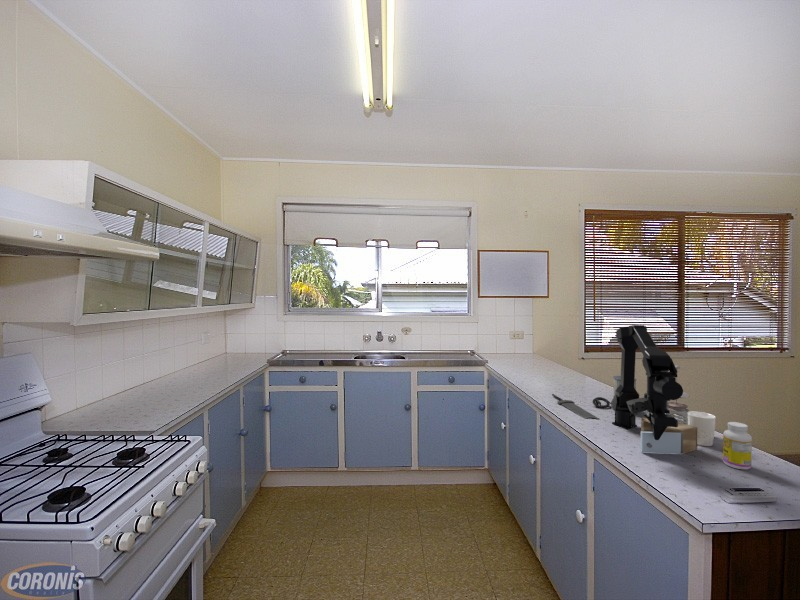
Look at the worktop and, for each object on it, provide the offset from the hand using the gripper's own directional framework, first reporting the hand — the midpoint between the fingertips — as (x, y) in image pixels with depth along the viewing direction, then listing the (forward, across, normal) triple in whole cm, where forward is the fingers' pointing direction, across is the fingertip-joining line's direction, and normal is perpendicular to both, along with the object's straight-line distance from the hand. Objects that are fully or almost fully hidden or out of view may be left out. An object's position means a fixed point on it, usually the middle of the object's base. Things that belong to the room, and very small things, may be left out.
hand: (656, 439), depth 126 cm
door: (+5, -2, +2) cm, 6 cm away
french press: (+5, -30, +14) cm, 33 cm away
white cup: (+5, -17, +18) cm, 26 cm away
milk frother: (+4, -51, -3) cm, 52 cm away
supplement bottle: (+5, 0, +21) cm, 22 cm away
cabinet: (+5, -12, +7) cm, 15 cm away
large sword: (+5, -49, -21) cm, 53 cm away
